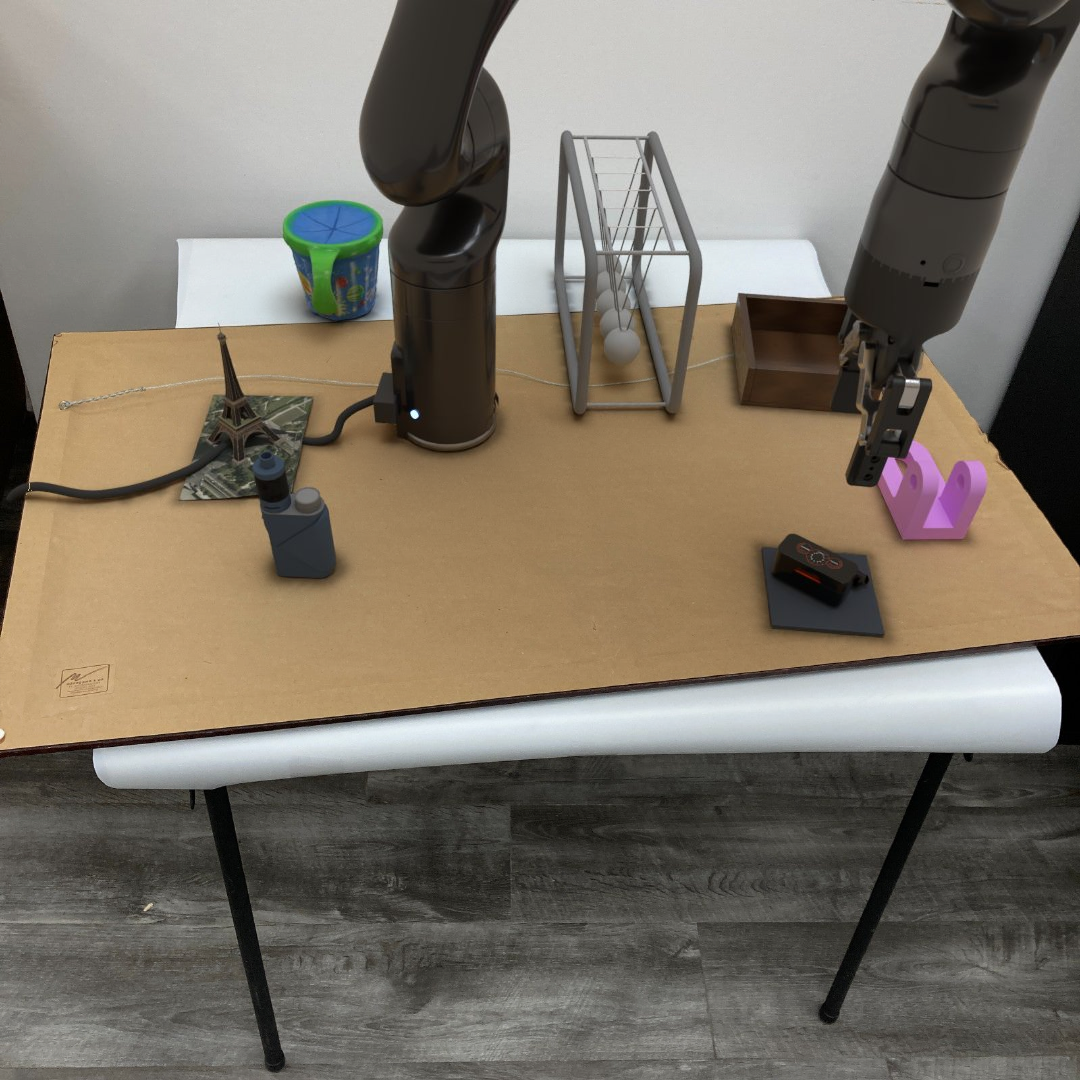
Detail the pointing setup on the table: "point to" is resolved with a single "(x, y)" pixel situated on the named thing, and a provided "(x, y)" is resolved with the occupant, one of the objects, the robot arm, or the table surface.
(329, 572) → the vaping device
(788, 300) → the wooden box
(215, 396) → the eiffel tower figurine
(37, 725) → the table surface
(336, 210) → the snack cup
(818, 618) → the pad
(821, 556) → the black electronic gadget
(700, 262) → the newton's cradle
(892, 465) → the bracket
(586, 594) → the table surface
